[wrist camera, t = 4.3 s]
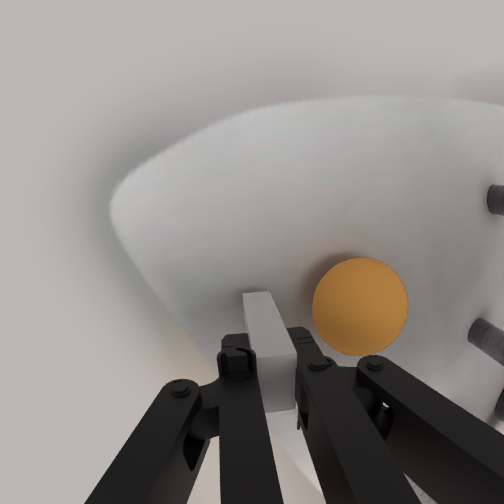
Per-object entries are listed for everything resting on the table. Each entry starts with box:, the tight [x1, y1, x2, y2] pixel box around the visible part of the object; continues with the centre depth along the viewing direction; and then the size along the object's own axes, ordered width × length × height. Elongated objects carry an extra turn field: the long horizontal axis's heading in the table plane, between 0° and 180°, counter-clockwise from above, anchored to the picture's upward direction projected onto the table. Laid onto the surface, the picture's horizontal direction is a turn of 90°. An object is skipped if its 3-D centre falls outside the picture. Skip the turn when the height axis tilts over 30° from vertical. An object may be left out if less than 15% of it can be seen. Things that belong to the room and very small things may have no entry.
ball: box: [312, 258, 408, 356], centre depth 15 cm, size 6×6×6 cm
